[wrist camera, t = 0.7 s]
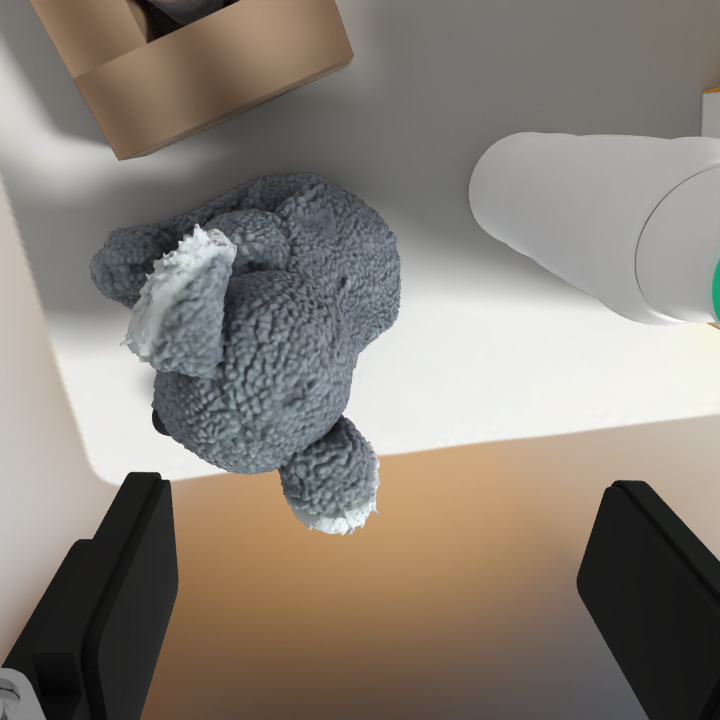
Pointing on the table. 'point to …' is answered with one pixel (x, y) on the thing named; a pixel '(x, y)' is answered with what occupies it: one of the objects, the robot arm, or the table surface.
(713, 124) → the packaging box
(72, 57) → the socket block
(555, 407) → the table surface
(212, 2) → the pin
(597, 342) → the table surface
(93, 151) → the table surface
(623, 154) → the water bottle
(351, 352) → the koala plush
